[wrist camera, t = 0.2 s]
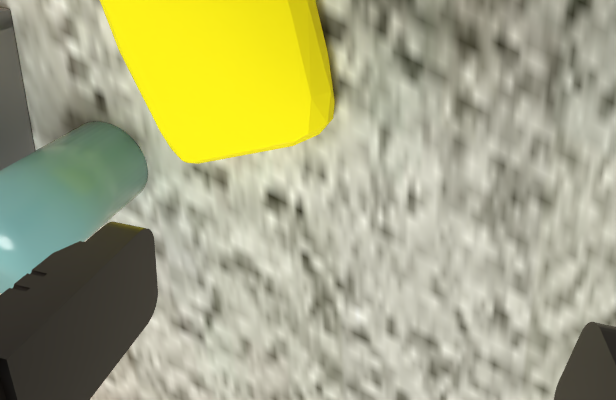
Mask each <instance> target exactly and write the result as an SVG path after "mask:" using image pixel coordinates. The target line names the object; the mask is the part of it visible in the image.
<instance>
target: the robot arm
mask: <svg viewBox="0 0 616 400" xmlns="http://www.w3.org/2000/svg"><path fill="white" fill-rule="evenodd" d="M157 297H158V288H157V273H156V259H155V245H154V237H153V234H152V232H151V231H150V230H149V229H146V228H141V227H136V226H131V225H127V224H122V223H117V222H110V223H107V224H106V225H105V226H103V227H102V228H101V229H100V230H99V231H98V232H96V233H95V234H94V235H93V236H92V237H90V238H89V239H88V240H87V241H86V242H82V241H79V242H77V243H74V244H72V245H70V246H68V247H65V248H63V249H61V250H59V251H56V252H54V253H52V254H51V255H50V256H48V257H47V258H46V259H45V260H43V261H42V262H41V263H40V264H38V265H37V266H36V267H35V268H33V269H32V271H31V274H28V273H27V274H26V275H25V276H23V277H22V278H21V279H20V280H18V281H17V282H16V283H15V284H14V287H13V288H8V289H7V290H6V291H5V292H3V293H2V294H1V295H0V400H90V398H91V397H92V396H93V394H94V393H95V392H96V391H97V389H98V388H99V387H100V385H101V384H102V383H103V381H104V380H105V379H106V378H107V376H108V375H109V374H110V372H111V371H112V370H113V368H114V367H115V366H116V364H117V363H118V362H119V361H120V359H121V358H122V357H123V355H124V354H125V353H126V351H127V350H128V349H129V347H130V346H131V345H132V344H133V342H134V341H135V340H136V338H137V337H138V336H139V334H140V333H141V332H142V331H143V329H144V328H145V327H146V325H147V324H148V322H149V321H150V319H151V317H152V315H153V313H154V310H155V307H156V303H157ZM554 400H616V327H614V326H609V325H604V324H600V323H595V322H590V323H588V324H587V325H586V326H585V327H584V328H583V330H582V332H581V334H580V336H579V339H578V341H577V343H576V345H575V347H574V350H573V352H572V354H571V356H570V358H569V361H568V363H567V365H566V367H565V369H564V371H563V374H562V376H561V378H560V380H559V382H558V385H557V388H556V392H555V397H554Z"/></svg>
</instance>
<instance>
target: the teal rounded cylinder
mask: <svg viewBox="0 0 616 400" xmlns="http://www.w3.org/2000/svg"><path fill="white" fill-rule="evenodd" d="M147 177H148V170H147V164H146V160H145V158H144V155H143V153H142V151H141V150H140V148H139V146H138V145H137V144H136V142H135V141H134V140H133V139H132V138H131V137H130V136H129V135H128V134H127V133H125V132H124V131H123V130H121V129H120V128H118V127H116V126H114V125H111V124H109V123H105V122H96V121H95V122H89V123H86V124H84V125H82V126H80V127H78V128H76V129H74V130H73V131H71V132H69V133H67V134H65V135H64V136H62V137H60V138H58V139H56V140H54V141H53V142H51V143H49V144H47V145H45V146H44V147H42V148H40V149H38V150H36V151H35V152H33V153H31V154H29V155H27V156H26V157H24V158H22V159H20V160H18V161H17V162H15V163H13V164H11V165H9V166H8V167H6V168H4V169H2V170H0V293H3V292H5V291H6V290H7V289H8V288H13V287H14V284H15V283H16V282H17V281H18V280H20V279H21V278H22V277H23V276H25V275H26V274H27V273H28V274H31V271H32V269H33V268H35V267H36V266H37V265H38V264H40V263H41V262H42V261H43V260H45V259H46V258H47V257H48V256H50V255H51V254H52V253H54V252H56V251H59V250H61V249H63V248H65V247H68V246H70V245H72V244H74V243H77V242H79V241H82V242H84V241H85V240H86V239H88V238H89V237H90V236H91V235H92V234H93V233H94V232H96V231H97V230H98V229H99V228H100V227H101V226H102V225H104V224H105V223H106V222H107V221H108V220H109V219H111V218H112V217H113V216H114V215H115V214H116V213H117V212H119V211H120V210H121V209H122V208H123V207H124V206H125V205H127V204H128V203H129V202H130V201H131V200H132V199H134V198H135V197H136V196H137V195H138V194H139V193H140V192H141V191H142V190H143V189H144V187H145V185H146V182H147Z"/></svg>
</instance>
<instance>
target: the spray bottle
mask: <svg viewBox="0 0 616 400" xmlns="http://www.w3.org/2000/svg"><path fill="white" fill-rule="evenodd" d="M100 2H101V5H102V7H103V10H104V13H105V15H106V18H107V20H108V23H109V25H110V28H111V31H112V33H113V36H114V38H115V41H116V44H117V46H118V49H119V51H120V53H121V55H122V57H123V59H124V61H125V63H126V65H127V67H128V69H129V71H130V73H131V75H132V77H133V79H134V81H135V83H136V85H137V87H138V89H139V91H140V93H141V95H142V97H143V98H144V100H145V102H146V104H147V106H148V108H149V110H150V112H151V114H152V116H153V118H154V120H155V122H156V124H157V126H158V128H159V130H160V132H161V133H162V135H163V137H164V138H165V140H166V141H167V143H168V145H169V146H170V148H171V149H172V150H173V151H174V152H175V153H176V155H177V156H178V157H179V158H180V159H181V160H182V161H184V162H186V163H198V164H199V163H204V162H209V161H215V160H220V159H225V158H231V157H236V156H241V155H247V154H252V153H258V152H263V151H268V150H274V149H279V148H284V147H290V146H294V145H296V144H298V143H300V142H303V141H305V140H307V139H310V138H312V137H314V136H316V135H319V134H320V133H321V132H322V130H323V129H324V128H325V127H326V126H327V125H328V124H329V123H330V121H331V120H332V119H333V114H334V105H335V100H334V93H333V86H332V79H331V71H330V64H329V57H328V52H327V47H326V43H325V39H324V35H323V30H322V26H321V22H320V18H319V14H318V9H317V5H316V1H315V0H100Z"/></svg>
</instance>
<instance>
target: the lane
mask: <svg viewBox="0 0 616 400" xmlns="http://www.w3.org/2000/svg"><path fill="white" fill-rule="evenodd" d="M33 152H35V148H34V143H33V137H32V131H31V126H30V120H29V114H28V109H27V103H26V97H25V92H24V86H23V80H22V75H21V69H20V63H19V58H18V52H17V47H16V41H15V35H14V30H13V24H12V18H11V13H10V9H6V8H1V7H0V170H2V169H4V168H6V167H8V166H9V165H11V164H13V163H15V162H17V161H18V160H20V159H22V158H24V157H26V156H27V155H29V154H31V153H33Z"/></svg>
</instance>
